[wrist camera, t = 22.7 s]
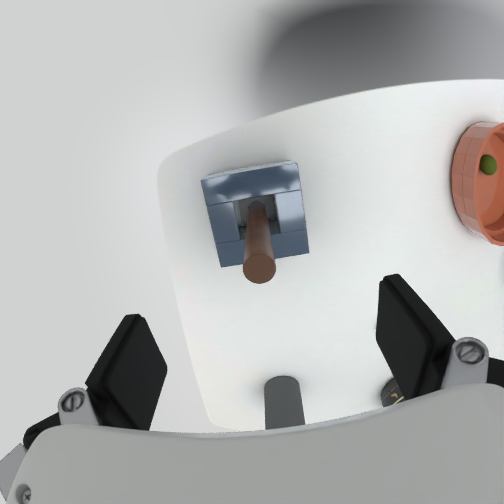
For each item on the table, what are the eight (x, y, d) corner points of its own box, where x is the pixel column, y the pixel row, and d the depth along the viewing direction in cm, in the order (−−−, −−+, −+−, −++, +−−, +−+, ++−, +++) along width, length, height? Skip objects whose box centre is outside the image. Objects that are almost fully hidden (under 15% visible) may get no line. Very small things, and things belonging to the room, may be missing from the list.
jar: (404, 362, 41) (420, 392, 34) (431, 373, 43) (447, 399, 36) (368, 397, 45) (379, 428, 38) (398, 404, 46) (410, 431, 39)
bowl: (444, 118, 27) (469, 118, 22) (512, 126, 25) (535, 129, 20) (447, 240, 33) (469, 255, 28) (512, 226, 32) (532, 236, 27)
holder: (208, 174, 30) (200, 180, 26) (290, 159, 30) (297, 162, 25) (225, 250, 34) (221, 267, 29) (301, 237, 33) (309, 253, 28)
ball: (502, 173, 25) (489, 170, 28) (498, 153, 24) (485, 150, 27) (490, 180, 26) (477, 176, 29) (486, 159, 25) (473, 156, 28)
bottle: (261, 396, 44) (263, 471, 30) (267, 374, 42) (270, 455, 28) (294, 397, 44) (303, 470, 30) (302, 376, 42) (315, 454, 28)
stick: (246, 202, 32) (239, 257, 17) (264, 199, 31) (273, 251, 17) (249, 218, 32) (246, 286, 17) (267, 215, 32) (278, 281, 17)
